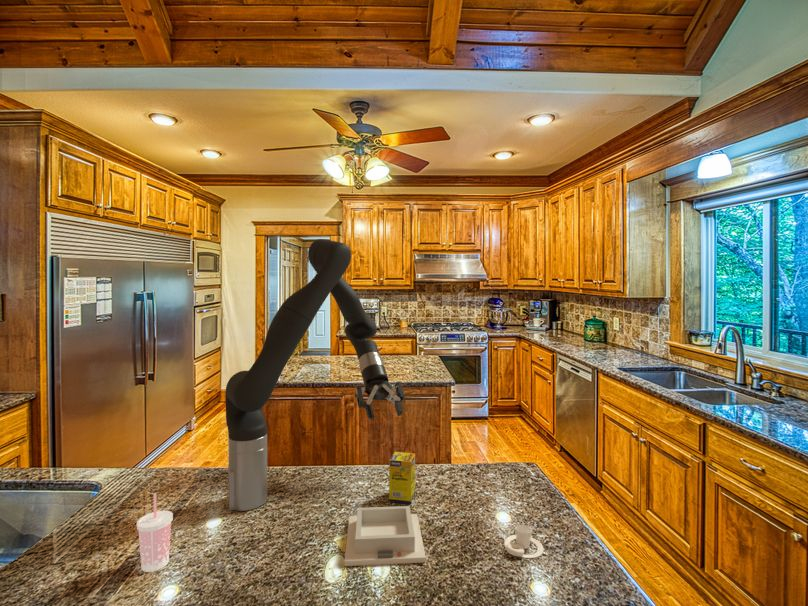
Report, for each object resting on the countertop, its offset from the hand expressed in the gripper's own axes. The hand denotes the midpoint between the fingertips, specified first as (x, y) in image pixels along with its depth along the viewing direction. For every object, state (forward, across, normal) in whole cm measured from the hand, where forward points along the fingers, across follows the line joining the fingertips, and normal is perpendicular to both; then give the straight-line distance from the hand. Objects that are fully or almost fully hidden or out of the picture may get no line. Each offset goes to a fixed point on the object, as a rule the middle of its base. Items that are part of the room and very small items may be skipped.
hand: (386, 416), depth 115 cm
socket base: (+32, -11, -6) cm, 34 cm away
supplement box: (+21, 0, +5) cm, 22 cm away
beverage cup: (+24, -55, +1) cm, 60 cm away
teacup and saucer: (+41, +13, -14) cm, 45 cm away
